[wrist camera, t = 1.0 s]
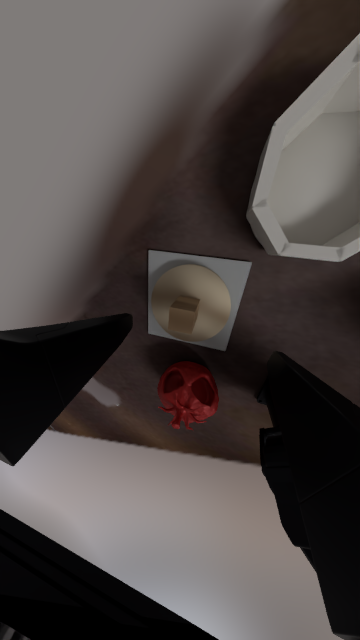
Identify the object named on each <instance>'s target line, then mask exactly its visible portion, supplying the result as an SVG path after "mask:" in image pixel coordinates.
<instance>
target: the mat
mask: <svg viewBox="0 0 360 640" xmlns="http://www.w3.org/2000/svg"><path fill="white" fill-rule="evenodd" d="M185 264H196V265H201V266H204V267H207V268H209V269H211V270H212V271H214V272H215V273H216V274H217V275H219V276H220V277H221V279H222V280H223V281H224V283H225V285H226V286H227V289H228V291H229V295H230V300H231V311H230V316H229V318H228V321H227V323H226V325H225V326H224V327H223V329H222V330H221V331H220V332H219V333H217V334H216V335H215V336H213V337H211V338H209V339H207V340H203V341H198V342H188V341H184V342H188V343H192V344H196V345H201V346H205V347H209V348H214V349H218V350H222V351H226V347H227V344H228V341H229V337H230V334H231V331H232V327H233V324H234V321H235V317H236V314H237V311H238V307H239V304H240V301H241V297H242V294H243V291H244V287H245V284H246V281H247V277H248V274H249V271H250V267H251V264H252V262H245V261H237V260H228V259H220V258H212V257H204V256H195V255H187V254H179V253H170V252H162V251H154V250H149V273H148V333H149V334H154V335H158V336H162V337H166V338H171V339H175V340H179V341H183V340H180V339H177V338H175V337H173V336H171V335H170V334H168V333H167V332H166V331H165V330H164V329H163V328H162V327H161V326H160V325H159V324H158V322H157V320H156V319H155V316H154V314H153V311H152V306H151V297H152V291H153V289H154V286H155V284H156V282H157V281H158V279H159V278H160V277H161V276H162V275H163V274H164V273H165V272H167V271H168V270H170V269H172V268H175V267H177V266H180V265H185Z"/></svg>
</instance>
